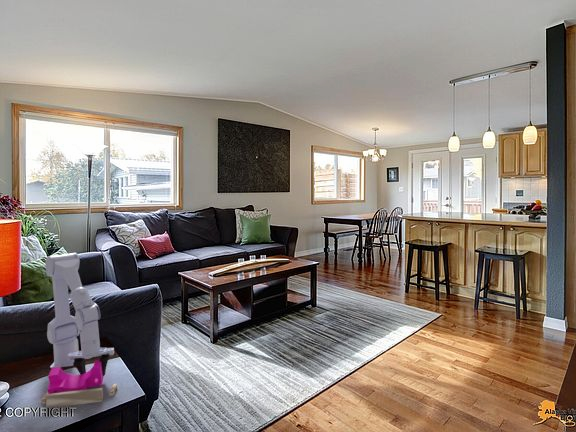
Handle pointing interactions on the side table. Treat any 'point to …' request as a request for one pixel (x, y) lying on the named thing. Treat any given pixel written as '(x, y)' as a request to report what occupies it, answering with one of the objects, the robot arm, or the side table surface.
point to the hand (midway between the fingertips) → (93, 376)
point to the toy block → (74, 379)
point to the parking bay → (75, 397)
